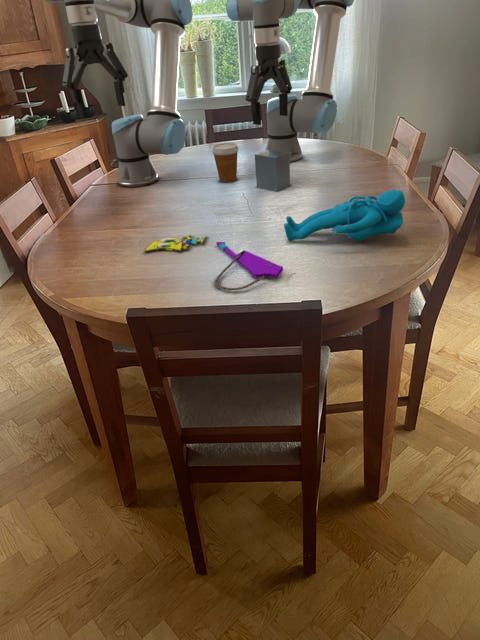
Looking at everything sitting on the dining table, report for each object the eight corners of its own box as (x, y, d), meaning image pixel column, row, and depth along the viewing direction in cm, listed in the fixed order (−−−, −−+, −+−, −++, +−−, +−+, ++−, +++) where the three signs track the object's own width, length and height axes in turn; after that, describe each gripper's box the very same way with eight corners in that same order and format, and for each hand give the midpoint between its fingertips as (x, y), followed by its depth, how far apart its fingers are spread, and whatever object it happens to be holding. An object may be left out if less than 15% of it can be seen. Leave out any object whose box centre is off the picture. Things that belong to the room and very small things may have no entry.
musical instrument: (257, 302, 103) (298, 254, 115) (255, 294, 102) (297, 246, 114) (172, 286, 116) (218, 244, 128) (170, 279, 114) (216, 237, 127)
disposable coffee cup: (210, 183, 175) (207, 149, 168) (221, 175, 182) (218, 142, 175) (235, 184, 171) (232, 149, 165) (244, 176, 178) (242, 142, 172)
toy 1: (199, 248, 125) (143, 249, 127) (199, 251, 125) (144, 252, 127) (206, 233, 133) (154, 234, 135) (206, 236, 133) (154, 237, 136)
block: (277, 191, 161) (275, 157, 155) (256, 187, 167) (254, 154, 161) (290, 185, 166) (289, 152, 160) (269, 181, 171) (268, 149, 165)
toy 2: (287, 204, 132) (400, 176, 122) (297, 239, 137) (406, 215, 127) (278, 228, 119) (405, 199, 108) (290, 266, 124) (412, 242, 113)
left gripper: (48, 27, 118) (72, 119, 130) (130, 20, 133) (144, 102, 145) (34, 29, 123) (57, 117, 134) (114, 21, 137) (129, 101, 149)
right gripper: (249, 49, 133) (254, 129, 145) (302, 39, 148) (303, 112, 160) (229, 49, 138) (236, 127, 150) (283, 39, 153) (285, 111, 164)
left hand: (102, 110), depth 139 cm, fingers open, 13 cm apart
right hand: (270, 119), depth 155 cm, fingers open, 13 cm apart
